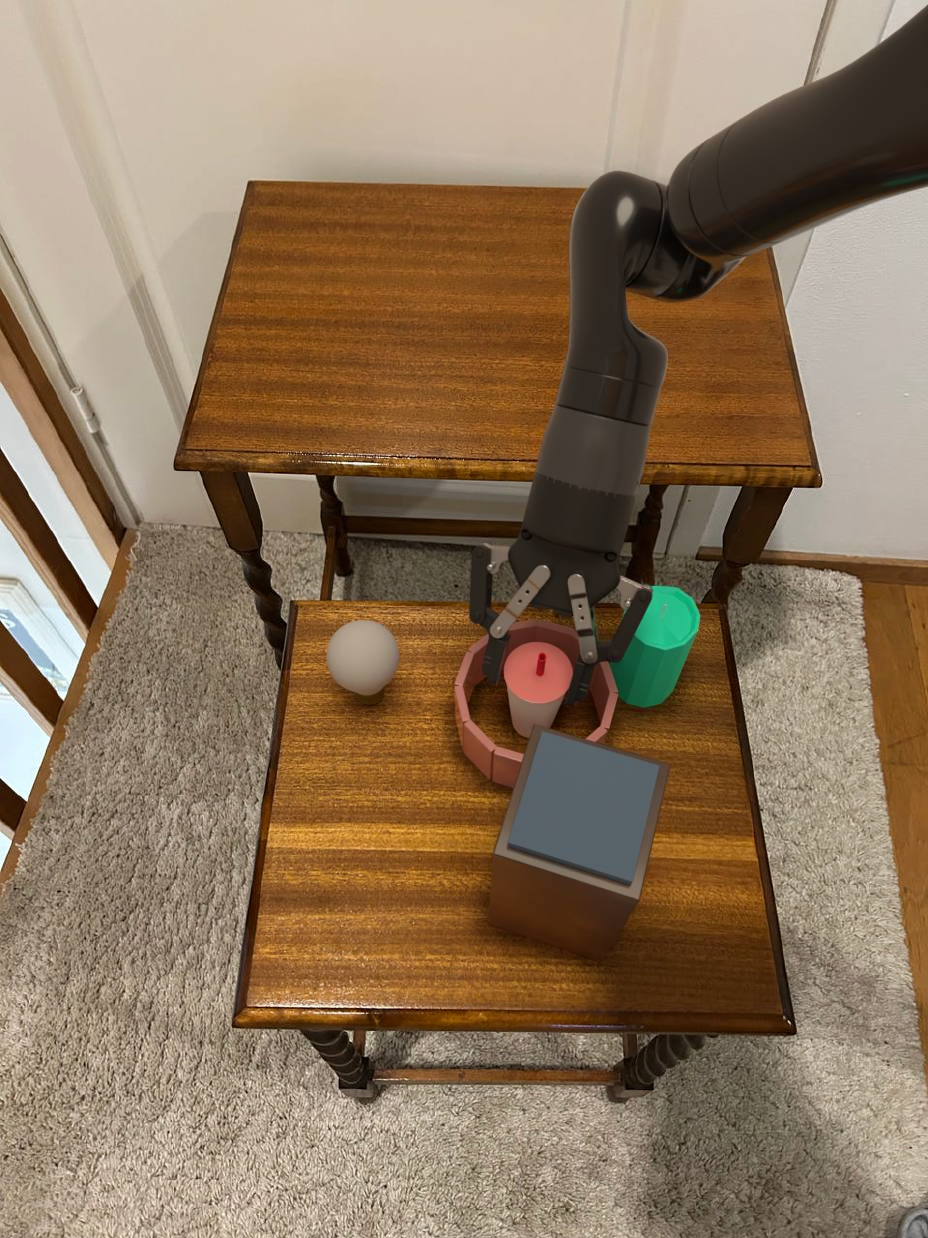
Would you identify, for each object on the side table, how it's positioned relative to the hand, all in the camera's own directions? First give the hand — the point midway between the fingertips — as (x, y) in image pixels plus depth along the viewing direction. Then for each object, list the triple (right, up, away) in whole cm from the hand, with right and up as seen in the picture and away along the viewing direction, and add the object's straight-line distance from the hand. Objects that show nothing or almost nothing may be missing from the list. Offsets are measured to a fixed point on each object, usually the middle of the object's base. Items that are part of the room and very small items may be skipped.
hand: (531, 692), depth 72 cm
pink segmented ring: (+1, -3, +8) cm, 9 cm away
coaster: (+2, -6, -14) cm, 16 cm away
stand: (+2, -15, +1) cm, 15 cm away
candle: (+10, 0, +11) cm, 15 cm away
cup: (+1, -3, +9) cm, 9 cm away
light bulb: (-13, -1, +10) cm, 17 cm away
